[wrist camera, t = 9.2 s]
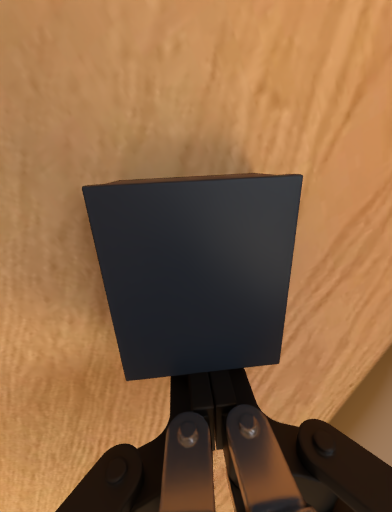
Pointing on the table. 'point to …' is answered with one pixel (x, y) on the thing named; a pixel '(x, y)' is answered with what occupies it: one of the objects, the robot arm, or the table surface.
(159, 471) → the robot arm
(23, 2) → the table surface
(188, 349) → the storage box
